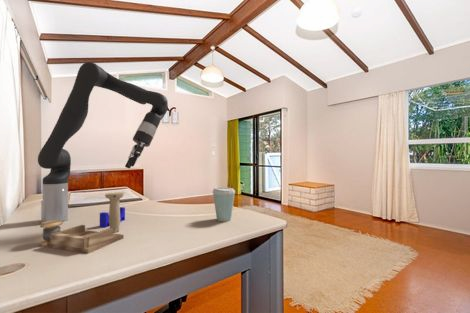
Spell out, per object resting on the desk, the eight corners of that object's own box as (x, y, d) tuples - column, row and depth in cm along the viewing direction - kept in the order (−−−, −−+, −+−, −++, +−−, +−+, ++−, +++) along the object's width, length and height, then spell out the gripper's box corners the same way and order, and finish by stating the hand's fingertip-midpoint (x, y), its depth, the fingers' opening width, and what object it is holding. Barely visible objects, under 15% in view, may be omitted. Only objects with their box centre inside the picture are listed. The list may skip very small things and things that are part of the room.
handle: (105, 231, 92) (105, 193, 92) (123, 228, 95) (123, 191, 95) (104, 234, 88) (105, 194, 88) (123, 232, 91) (123, 193, 91)
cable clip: (116, 219, 110) (116, 206, 110) (124, 220, 109) (125, 207, 109) (96, 227, 98) (96, 212, 98) (105, 227, 97) (105, 213, 97)
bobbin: (35, 244, 78) (35, 223, 78) (54, 238, 83) (54, 219, 83) (48, 246, 76) (48, 225, 76) (66, 240, 82) (66, 220, 82)
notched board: (46, 246, 76) (46, 233, 76) (85, 233, 89) (85, 222, 90) (88, 253, 71) (88, 239, 71) (123, 238, 84) (123, 226, 84)
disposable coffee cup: (235, 216, 114) (234, 186, 114) (235, 223, 103) (235, 189, 103) (213, 217, 114) (213, 186, 114) (211, 223, 103) (211, 189, 103)
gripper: (134, 133, 109) (117, 164, 103) (140, 126, 97) (122, 161, 92) (149, 140, 112) (134, 171, 107) (157, 134, 101) (140, 168, 95)
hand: (128, 166), depth 99 cm, fingers open, 8 cm apart
